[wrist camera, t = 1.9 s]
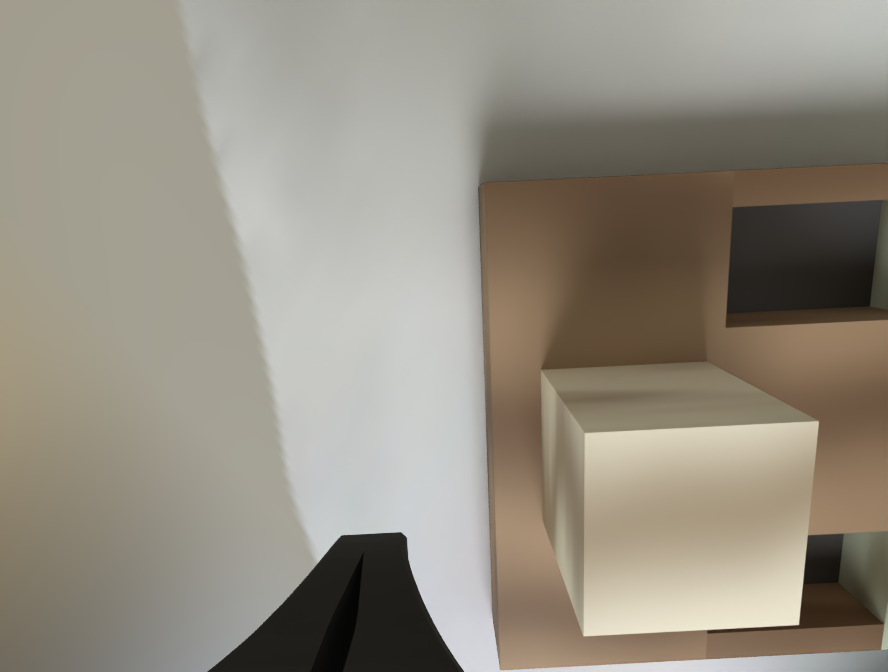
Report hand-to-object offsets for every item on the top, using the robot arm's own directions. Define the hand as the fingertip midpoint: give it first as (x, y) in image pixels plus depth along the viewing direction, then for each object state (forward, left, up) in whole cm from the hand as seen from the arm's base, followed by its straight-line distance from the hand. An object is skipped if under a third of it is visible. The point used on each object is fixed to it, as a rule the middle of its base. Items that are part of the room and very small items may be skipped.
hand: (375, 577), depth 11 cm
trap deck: (0, -13, -8) cm, 16 cm away
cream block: (0, -7, -6) cm, 9 cm away
